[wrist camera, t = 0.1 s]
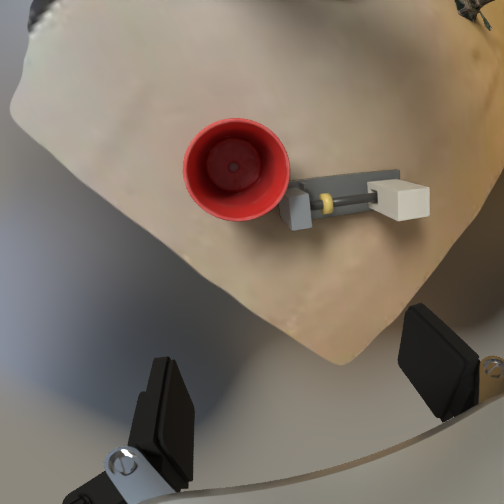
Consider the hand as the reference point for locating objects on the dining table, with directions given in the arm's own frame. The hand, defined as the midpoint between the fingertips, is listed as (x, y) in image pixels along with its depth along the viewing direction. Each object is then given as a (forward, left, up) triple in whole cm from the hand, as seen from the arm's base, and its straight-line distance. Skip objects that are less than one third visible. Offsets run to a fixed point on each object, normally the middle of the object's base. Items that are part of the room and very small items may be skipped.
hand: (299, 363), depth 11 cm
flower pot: (-6, 0, -31) cm, 32 cm away
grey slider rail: (0, +15, -31) cm, 35 cm away
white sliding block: (0, +20, -29) cm, 35 cm away
